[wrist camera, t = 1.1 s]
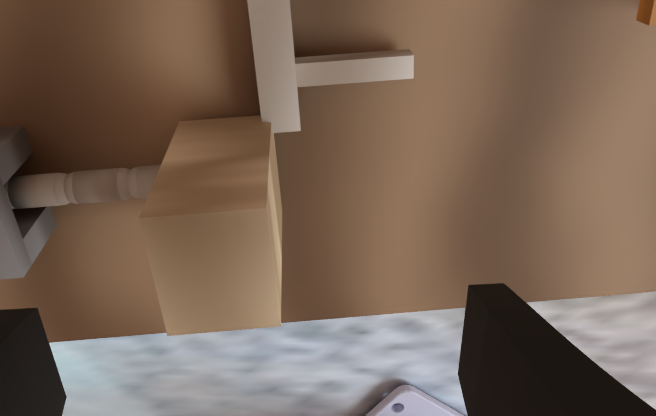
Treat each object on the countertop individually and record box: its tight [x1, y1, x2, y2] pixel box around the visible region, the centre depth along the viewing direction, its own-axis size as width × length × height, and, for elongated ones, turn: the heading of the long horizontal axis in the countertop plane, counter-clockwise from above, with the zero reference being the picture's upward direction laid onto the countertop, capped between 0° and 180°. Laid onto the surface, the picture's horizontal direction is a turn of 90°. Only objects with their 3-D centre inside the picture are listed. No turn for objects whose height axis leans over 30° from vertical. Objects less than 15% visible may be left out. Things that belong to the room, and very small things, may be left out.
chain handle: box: [3, 0, 414, 336], centre depth 14 cm, size 18×7×5 cm, turn 93°
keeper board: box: [0, 0, 656, 342], centre depth 17 cm, size 24×12×4 cm, turn 93°
